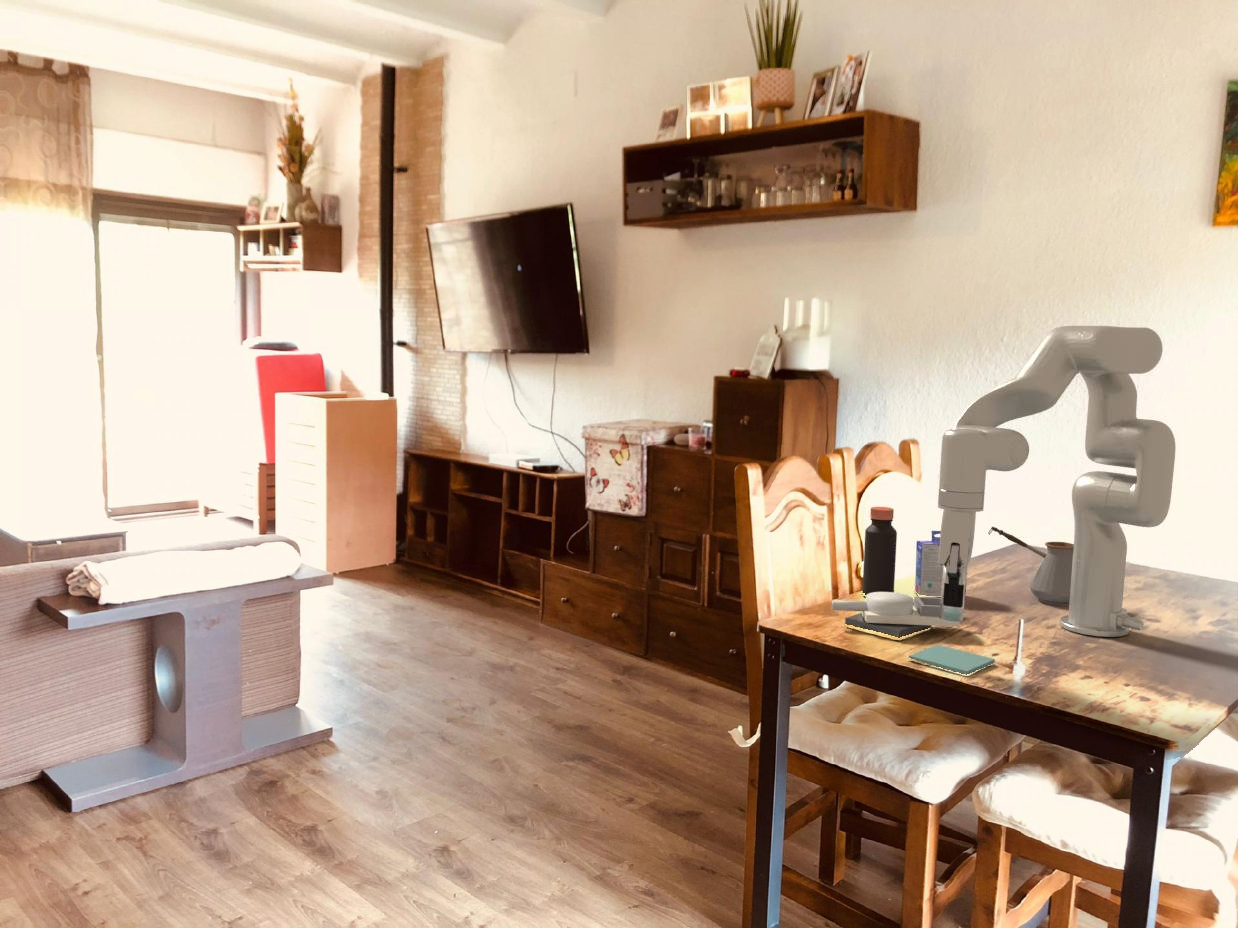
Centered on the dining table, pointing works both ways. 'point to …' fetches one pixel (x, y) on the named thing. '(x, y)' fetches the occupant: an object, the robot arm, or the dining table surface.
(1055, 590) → the coffee pot
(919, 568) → the ink cartridge box
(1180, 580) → the dining table surface
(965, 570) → the grey piece
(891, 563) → the bottle
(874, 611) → the white handled tool
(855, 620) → the dark gray sponge cloth
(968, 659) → the key mat
